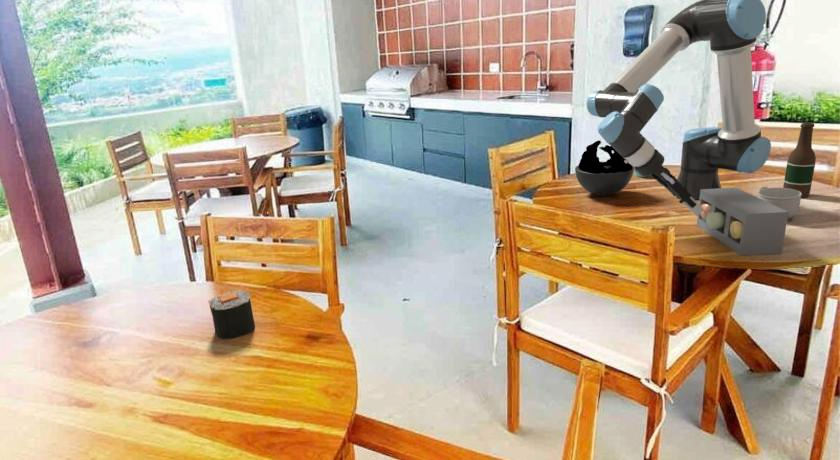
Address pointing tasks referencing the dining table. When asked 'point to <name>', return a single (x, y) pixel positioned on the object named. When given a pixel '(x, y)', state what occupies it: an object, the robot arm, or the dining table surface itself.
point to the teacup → (782, 198)
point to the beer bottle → (801, 163)
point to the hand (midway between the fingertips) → (699, 212)
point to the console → (745, 221)
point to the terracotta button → (705, 210)
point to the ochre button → (736, 229)
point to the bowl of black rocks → (603, 171)
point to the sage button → (715, 220)
